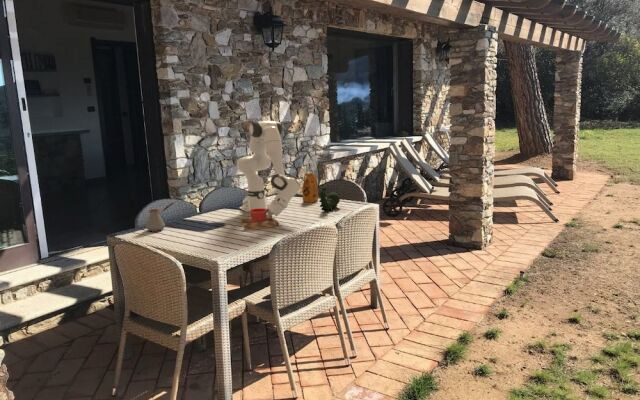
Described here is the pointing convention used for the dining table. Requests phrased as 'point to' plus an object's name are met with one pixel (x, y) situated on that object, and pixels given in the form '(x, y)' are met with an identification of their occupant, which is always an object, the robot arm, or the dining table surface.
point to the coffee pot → (155, 220)
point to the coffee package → (310, 188)
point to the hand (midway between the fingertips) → (266, 217)
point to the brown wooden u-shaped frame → (259, 223)
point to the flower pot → (258, 215)
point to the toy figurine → (328, 200)
